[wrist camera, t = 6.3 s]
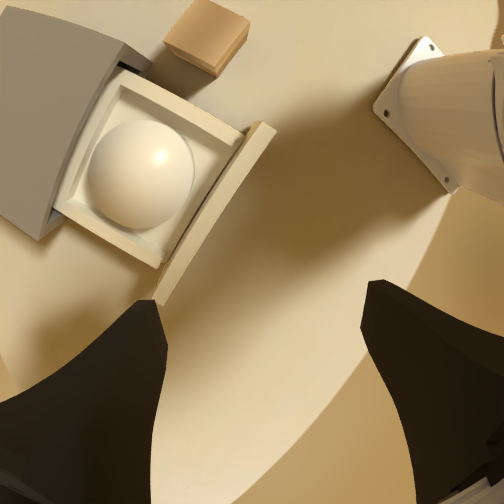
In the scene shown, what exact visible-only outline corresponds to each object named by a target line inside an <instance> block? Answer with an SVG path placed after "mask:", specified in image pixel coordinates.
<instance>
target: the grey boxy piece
mask: <svg viewBox="0 0 504 504" xmlns="http://www.w3.org/2000/svg"><path fill="white" fill-rule="evenodd" d="M151 64H152V62H151V61H150V60H148V59H147V58H146V57H144V56H143V55H141V54H140V53H139V52H137V51H136V50H134V49H133V48H131V47H130V46H129V45H127V44H126V43H124V42H121V41H119V40H117V39H114V38H112V37H109V36H107V35H104V34H102V33H99V32H96V31H94V30H91V29H88V28H85V27H82V26H80V25H77V24H74V23H71V22H68V21H64V20H61V19H58V18H55V17H51V16H48V15H44V14H41V13H37V12H33V11H29V10H25V9H20V8H16V7H11V6H6V8H5V9H4V11H3V13H2V14H1V16H0V215H2V216H3V217H4V218H6V219H7V220H8V221H10V222H11V223H12V224H14V225H15V226H16V227H18V228H19V229H21V230H22V231H23V232H25V233H26V234H28V235H29V236H30V237H32V238H33V239H35V240H36V241H39V240H41V239H42V238H43V237H44V236H46V235H47V234H48V233H50V232H51V231H52V230H54V229H55V228H56V227H57V226H59V225H60V224H62V223H63V222H64V221H66V220H67V219H68V218H69V217H67V216H66V215H64V214H62V213H61V212H59V211H58V210H56V209H55V208H53V207H52V205H53V202H54V198H55V195H56V192H57V189H58V187H59V184H60V181H61V178H62V175H63V173H64V170H65V168H66V165H67V162H68V160H69V157H70V155H71V153H72V150H73V148H74V145H75V143H76V141H77V139H78V136H79V134H80V132H81V130H82V128H83V126H84V123H85V121H86V119H87V117H88V115H89V113H90V111H91V109H92V107H93V105H94V104H95V102H96V100H97V98H98V96H99V94H100V92H101V91H102V89H103V87H104V85H105V83H106V82H107V80H108V78H109V77H110V75H111V73H112V72H113V70H114V68H115V67H116V65H117V66H119V67H121V68H123V69H125V70H128V71H130V72H132V73H134V74H136V75H138V76H140V77H142V78H143V76H144V75H145V73H146V71H147V70H148V68H149V67H150V65H151Z"/></svg>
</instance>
